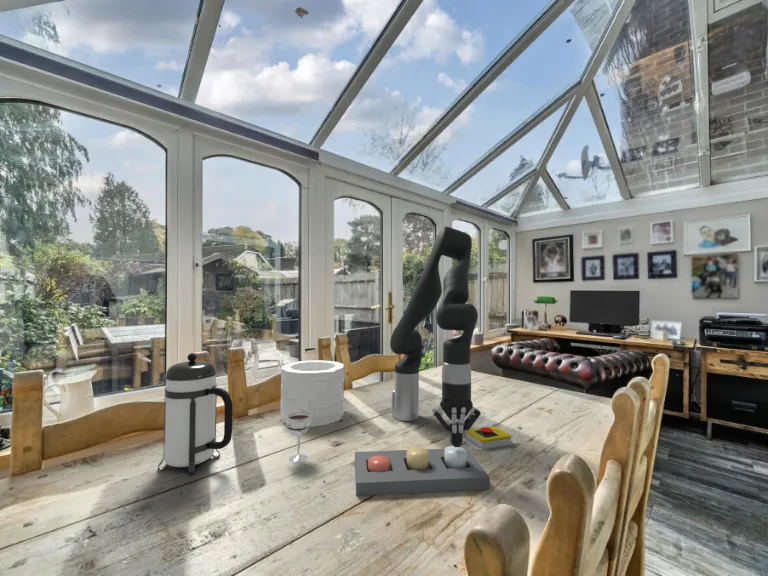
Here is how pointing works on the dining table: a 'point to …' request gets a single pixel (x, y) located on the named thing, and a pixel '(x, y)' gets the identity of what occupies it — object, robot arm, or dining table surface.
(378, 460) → the red button
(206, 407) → the coffee press
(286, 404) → the basket
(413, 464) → the ochre button
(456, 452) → the blue button
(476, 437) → the emergency button
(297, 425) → the wineglass
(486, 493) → the dining table surface
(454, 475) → the control panel
